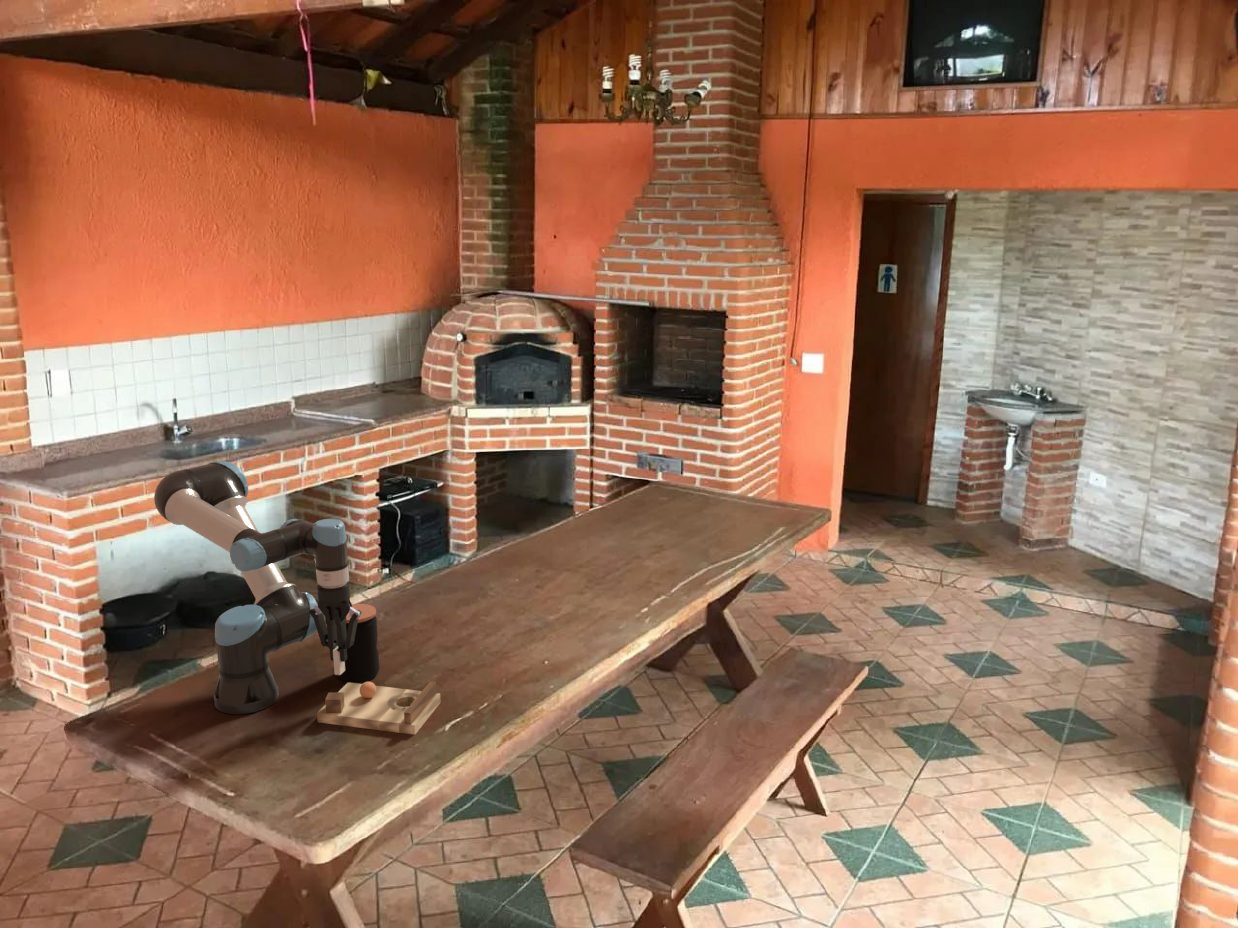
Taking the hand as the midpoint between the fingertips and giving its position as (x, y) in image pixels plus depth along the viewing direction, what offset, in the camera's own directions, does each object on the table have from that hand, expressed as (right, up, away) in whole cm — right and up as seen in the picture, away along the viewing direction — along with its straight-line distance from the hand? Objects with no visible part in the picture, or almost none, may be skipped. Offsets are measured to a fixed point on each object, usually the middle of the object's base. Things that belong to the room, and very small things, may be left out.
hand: (339, 672), depth 250 cm
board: (+10, -9, -2) cm, 14 cm away
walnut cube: (+1, -8, -6) cm, 10 cm away
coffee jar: (0, -4, +17) cm, 18 cm away
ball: (+7, -4, 0) cm, 8 cm away
